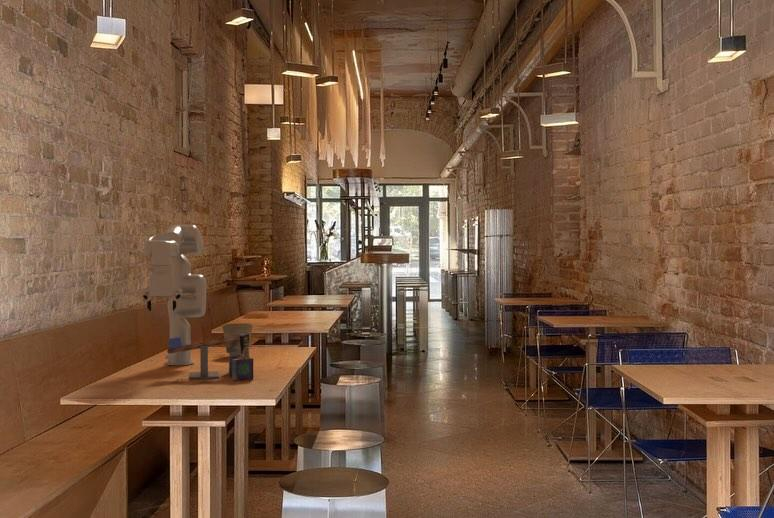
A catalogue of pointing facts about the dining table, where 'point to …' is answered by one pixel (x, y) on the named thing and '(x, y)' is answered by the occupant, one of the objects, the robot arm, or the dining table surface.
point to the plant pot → (237, 329)
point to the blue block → (175, 342)
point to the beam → (230, 343)
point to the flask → (242, 369)
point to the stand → (204, 366)
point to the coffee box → (241, 345)
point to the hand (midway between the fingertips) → (161, 310)
